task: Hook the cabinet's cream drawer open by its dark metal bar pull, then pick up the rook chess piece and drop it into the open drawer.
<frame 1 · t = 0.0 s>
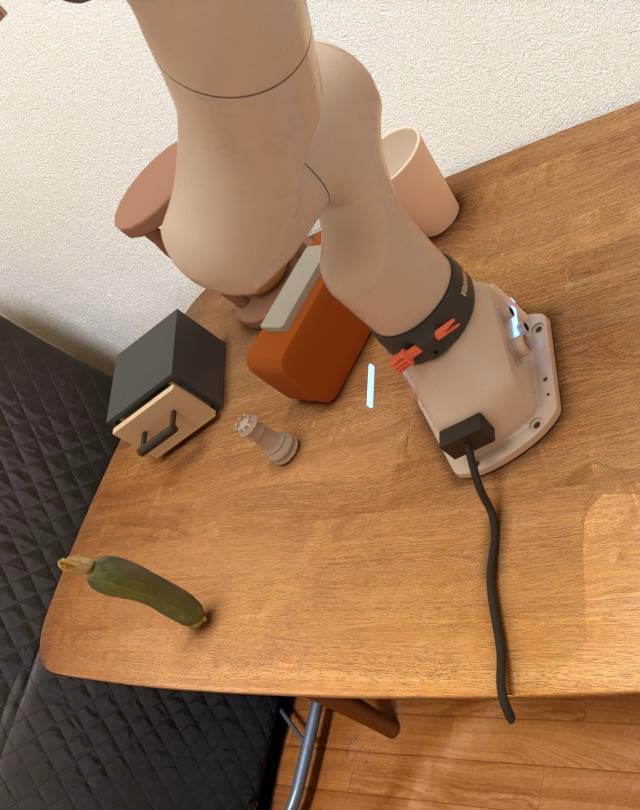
cabinet: (193, 396, 135), on the table
cup: (440, 219, 123), on the table
vegetable: (209, 616, 103), on the table
rook chess piece: (288, 452, 113), on the table
drawer: (166, 402, 128), point 5 cm above the table, slide at 1.0 cm
hourglass: (284, 286, 138), on the table
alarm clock: (353, 334, 119), on the table
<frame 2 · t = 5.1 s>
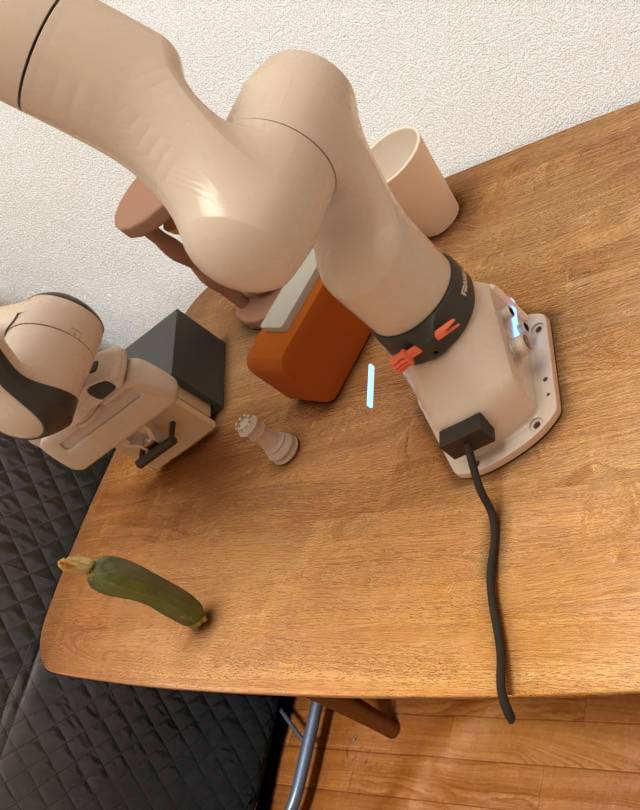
hand: (158, 444, 121), 6 cm above the table, tool pointing down, fingers closed, pressing on drawer
drawer: (165, 412, 126), point 5 cm above the table, slide at 3.4 cm, touching gripper
everything else where it was.
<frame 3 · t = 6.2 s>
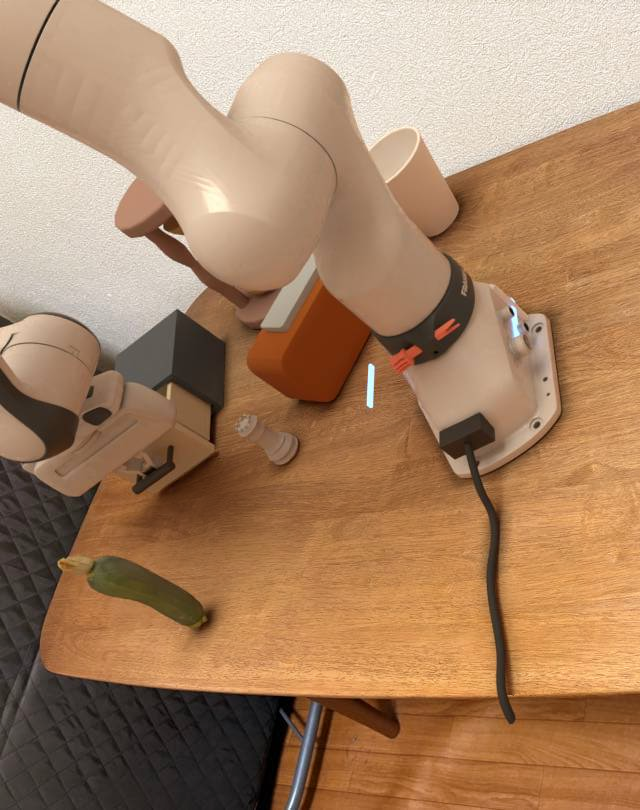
hand: (156, 469, 118), 6 cm above the table, tool pointing down, fingers closed, pressing on drawer
drawer: (163, 435, 123), point 5 cm above the table, slide at 8.3 cm, touching gripper
everything else where it was.
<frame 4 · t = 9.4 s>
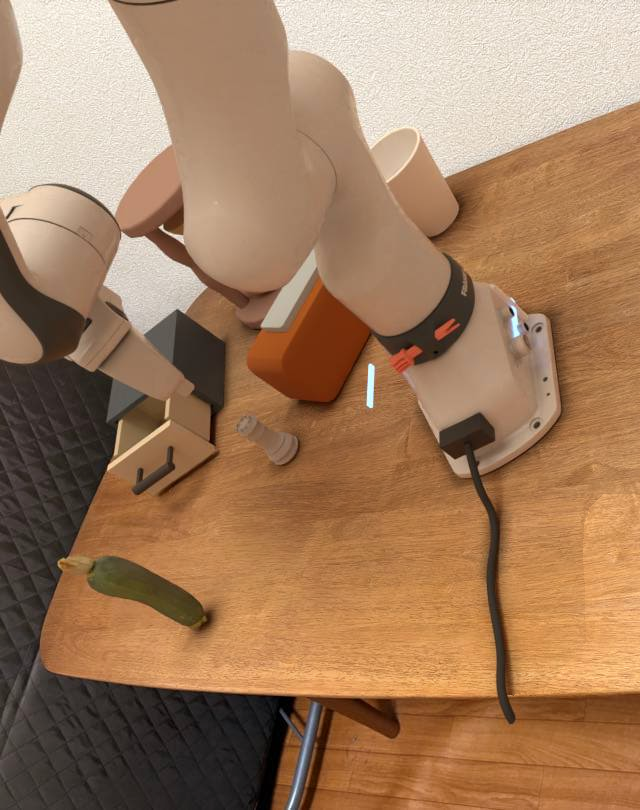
hand: (184, 385, 101), 17 cm above the table, tool pointing down, fingers closed
drawer: (163, 436, 123), point 5 cm above the table, slide at 8.4 cm
everything else where it was.
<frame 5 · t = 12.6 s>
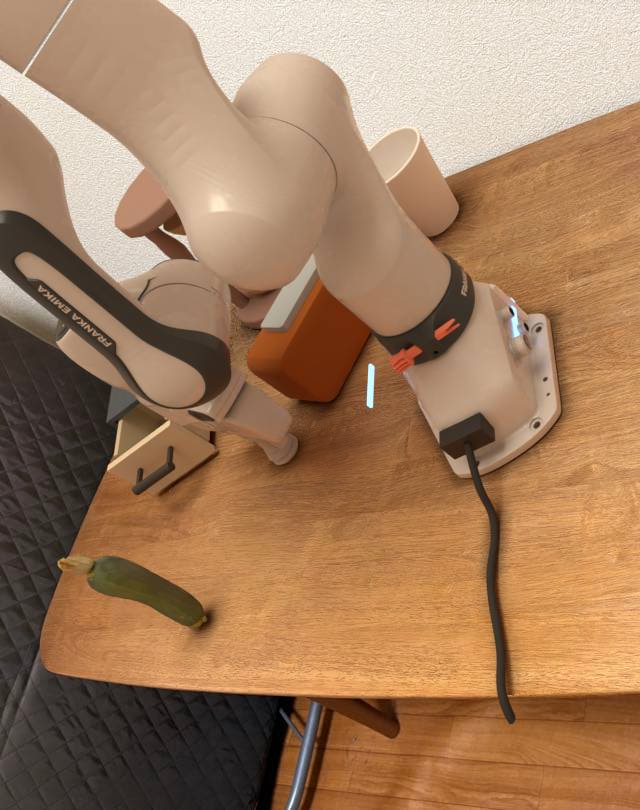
hand: (273, 441, 111), 3 cm above the table, tool pointing down, fingers closed on rook chess piece, 3 cm apart
rook chess piece: (288, 452, 113), on the table, touching gripper
everything else where it was.
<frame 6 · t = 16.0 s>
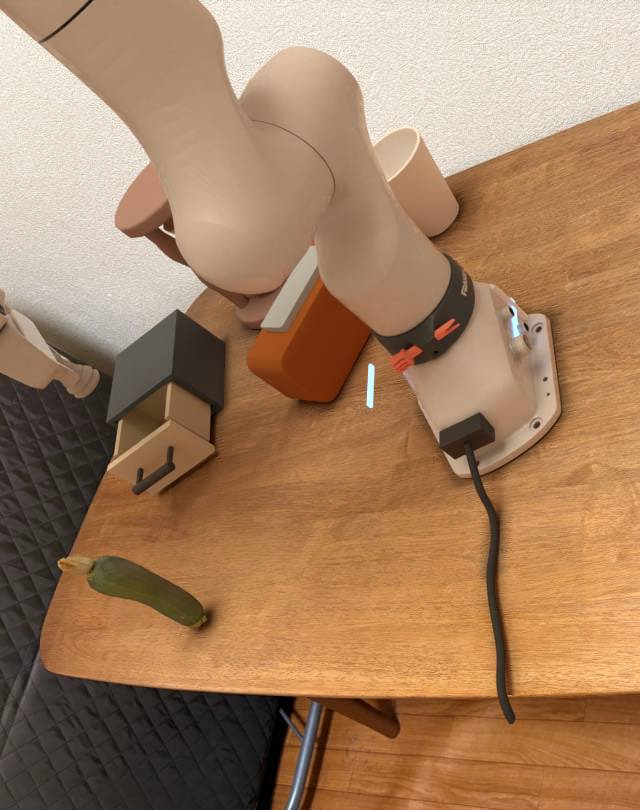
hand: (71, 374, 109), 22 cm above the table, tool pointing down, fingers closed on rook chess piece, 3 cm apart
rook chess piece: (91, 386, 111), point 19 cm above the table, touching gripper
everything else where it was.
when the fingers open (8 cm above the table, at t = 19.8 s): rook chess piece drops 3 cm, resting on drawer.
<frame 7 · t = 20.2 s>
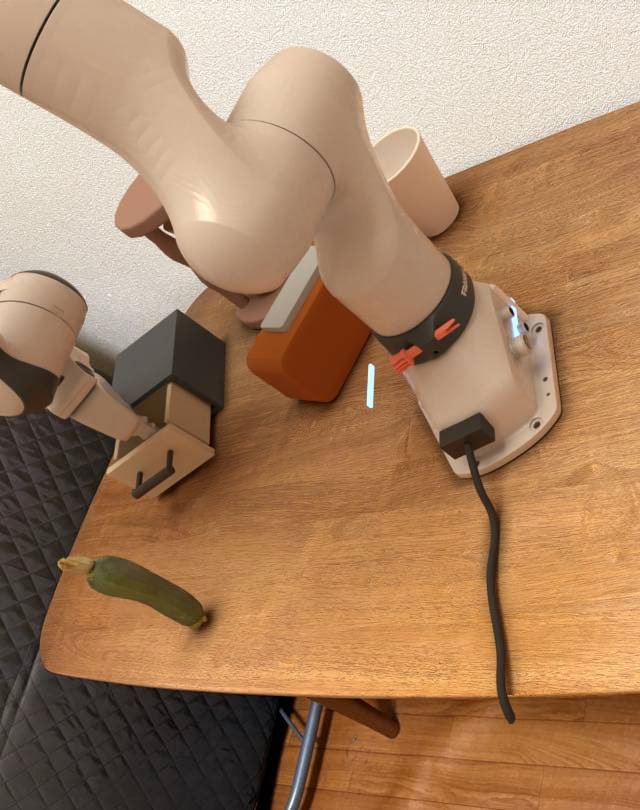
hand: (144, 425, 121), 8 cm above the table, tool pointing down, fingers open, 6 cm apart
rook chess piece: (180, 449, 124), point 2 cm above the table, touching drawer
drawer: (163, 439, 122), point 5 cm above the table, slide at 9.1 cm, touching gripper, rook chess piece
everything else where it was.
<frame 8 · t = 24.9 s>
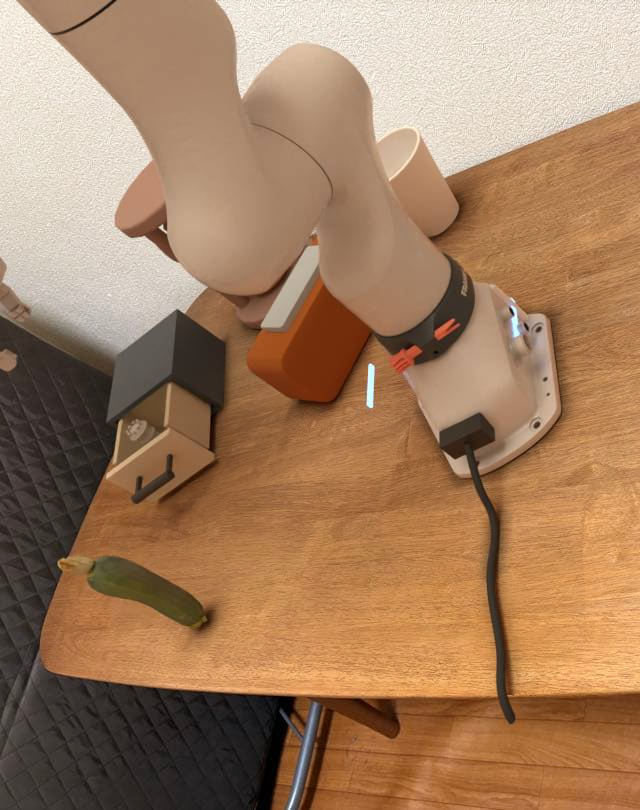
hand: (21, 339, 104), 29 cm above the table, tool pointing down, fingers open, 8 cm apart
drawer: (162, 444, 122), point 5 cm above the table, slide at 10.0 cm, touching rook chess piece
everything else where it was.
at the end: drawer slide at 10.0 cm; rook chess piece inside the target area in the drawer (5.7 cm from its centre), point 1.8 cm above the cabinet's base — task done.
